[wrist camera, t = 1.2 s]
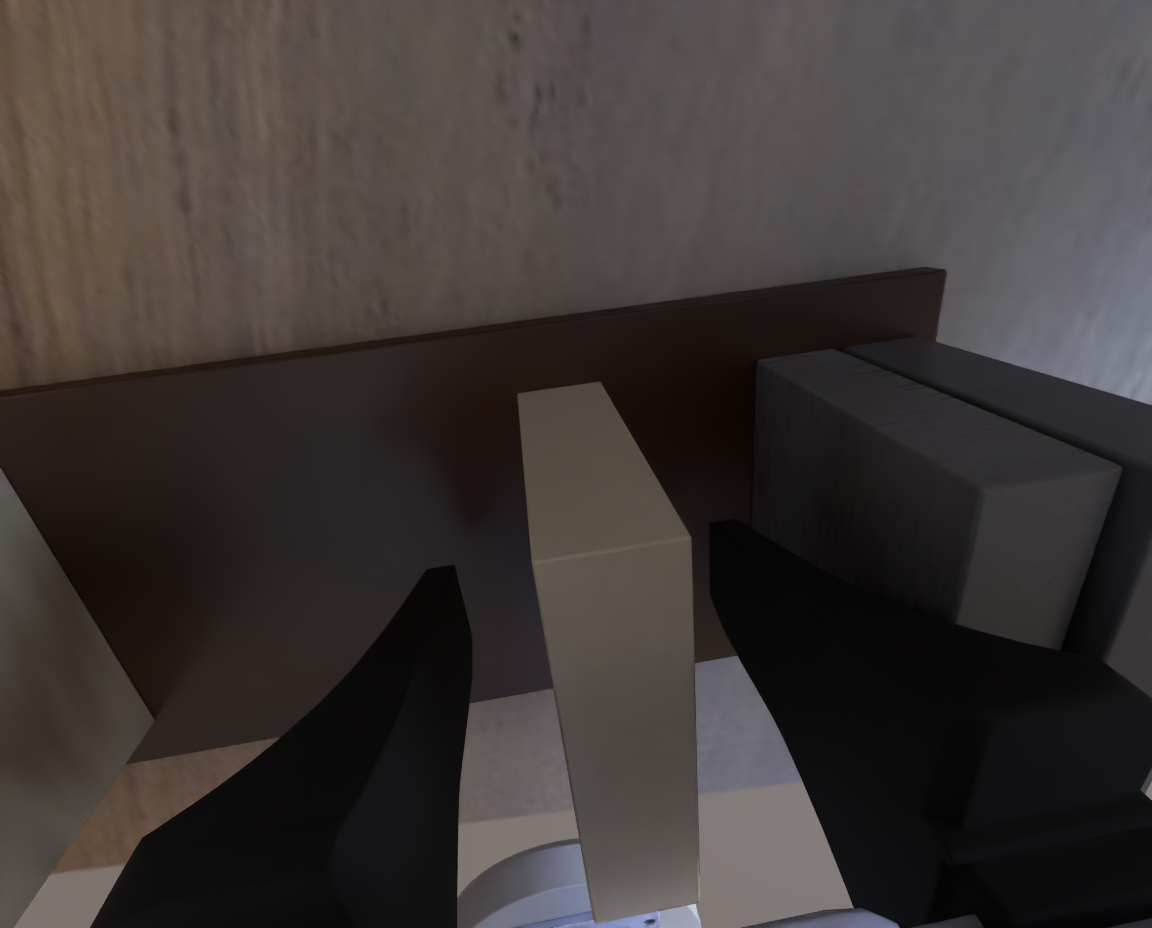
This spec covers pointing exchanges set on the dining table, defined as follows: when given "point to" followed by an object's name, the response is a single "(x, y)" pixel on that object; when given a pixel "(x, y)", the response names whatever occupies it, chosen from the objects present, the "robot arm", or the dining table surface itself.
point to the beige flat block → (616, 647)
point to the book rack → (518, 512)
